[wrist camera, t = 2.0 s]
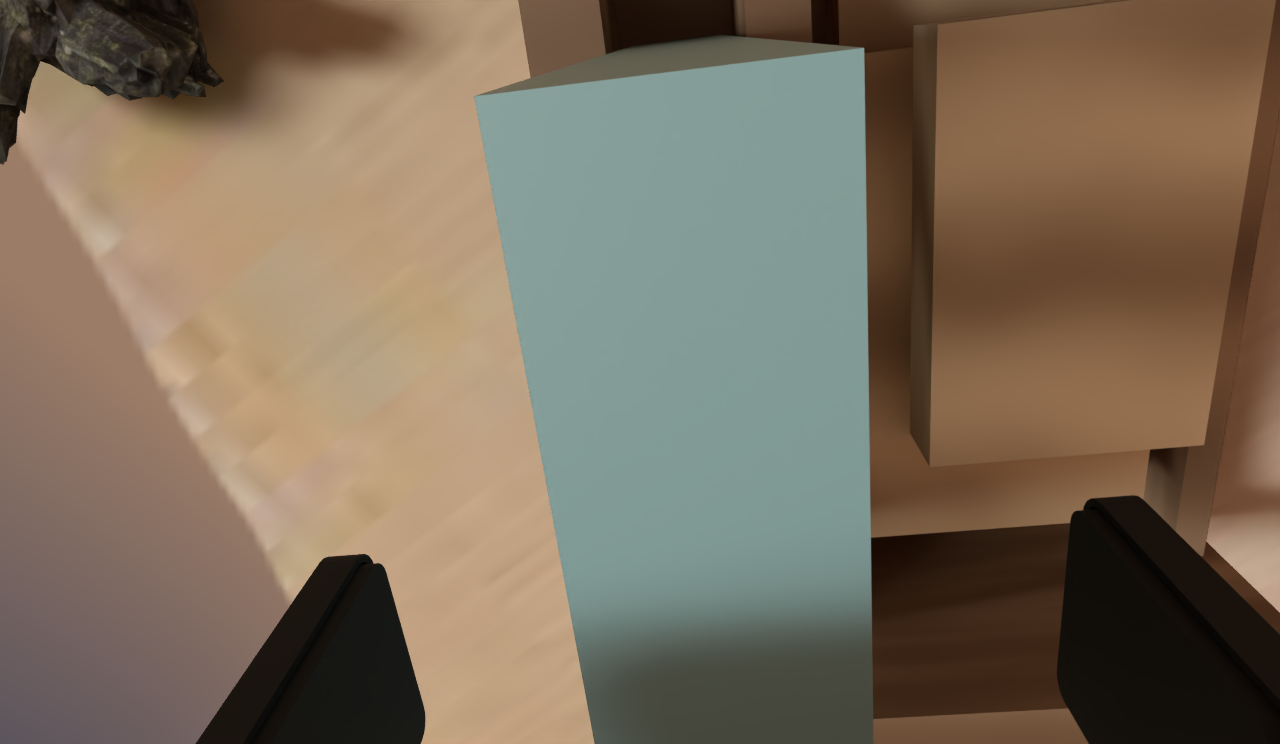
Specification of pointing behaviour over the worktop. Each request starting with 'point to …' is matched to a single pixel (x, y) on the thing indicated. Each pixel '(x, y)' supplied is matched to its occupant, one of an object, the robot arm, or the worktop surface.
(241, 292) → the worktop surface
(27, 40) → the mineral specimen
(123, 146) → the worktop surface
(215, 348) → the worktop surface
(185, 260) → the worktop surface
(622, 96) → the teal sheet
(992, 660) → the walnut rack
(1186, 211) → the offcut stack
